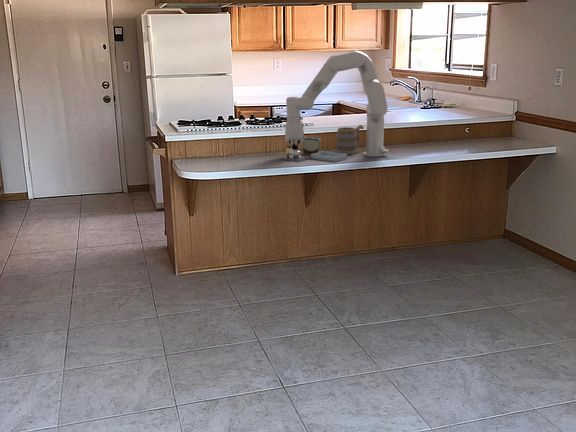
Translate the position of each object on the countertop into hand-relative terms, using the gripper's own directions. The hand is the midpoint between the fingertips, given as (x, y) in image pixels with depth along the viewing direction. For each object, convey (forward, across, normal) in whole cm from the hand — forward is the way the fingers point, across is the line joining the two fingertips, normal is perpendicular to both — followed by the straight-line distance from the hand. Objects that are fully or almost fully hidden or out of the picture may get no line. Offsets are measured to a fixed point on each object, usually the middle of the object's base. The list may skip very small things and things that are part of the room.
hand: (295, 151), depth 342 cm
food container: (+3, -8, -10) cm, 13 cm away
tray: (+3, -20, +3) cm, 20 cm away
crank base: (+3, -3, +8) cm, 9 cm away
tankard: (+4, -28, -22) cm, 36 cm away
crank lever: (+1, 0, +5) cm, 5 cm away
